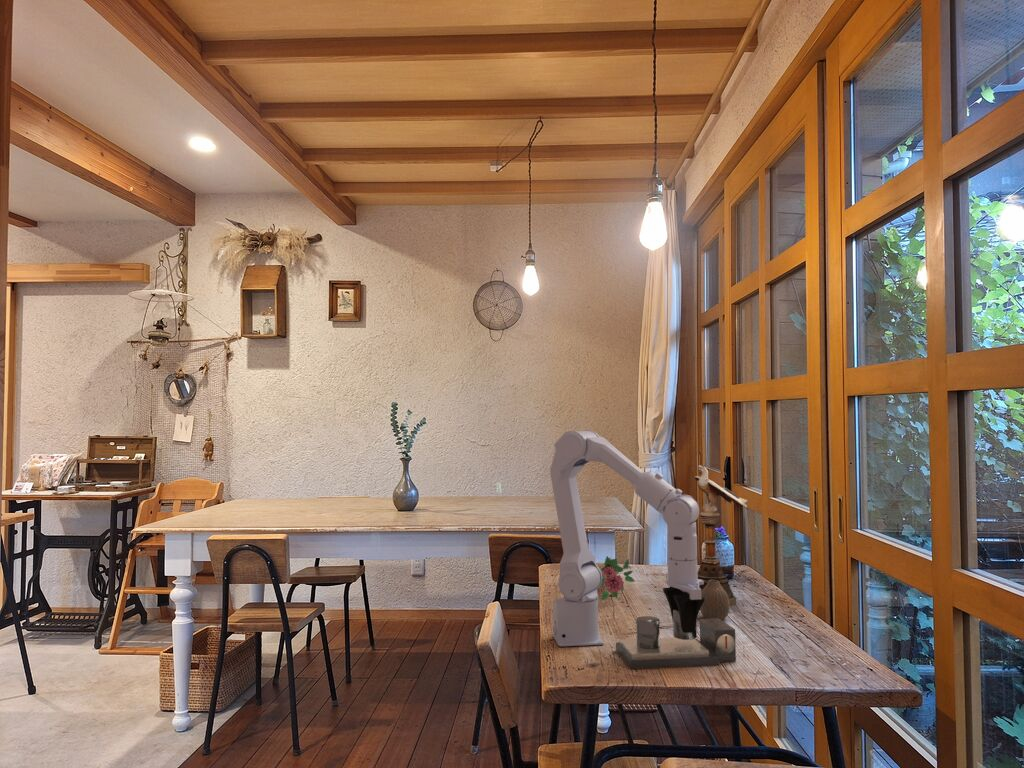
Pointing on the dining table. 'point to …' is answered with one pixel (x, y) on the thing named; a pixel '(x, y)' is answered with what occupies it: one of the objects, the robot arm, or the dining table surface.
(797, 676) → the dining table surface
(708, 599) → the brown egg-shaped piece
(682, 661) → the scale
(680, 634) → the ball
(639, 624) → the cylinder
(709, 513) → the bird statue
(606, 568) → the flower vase
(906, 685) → the dining table surface
